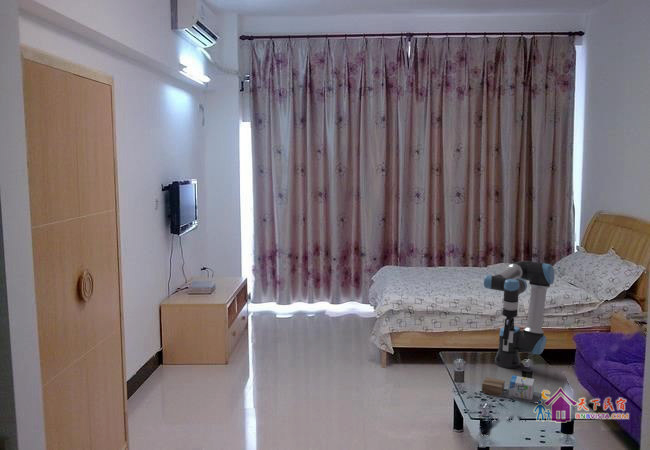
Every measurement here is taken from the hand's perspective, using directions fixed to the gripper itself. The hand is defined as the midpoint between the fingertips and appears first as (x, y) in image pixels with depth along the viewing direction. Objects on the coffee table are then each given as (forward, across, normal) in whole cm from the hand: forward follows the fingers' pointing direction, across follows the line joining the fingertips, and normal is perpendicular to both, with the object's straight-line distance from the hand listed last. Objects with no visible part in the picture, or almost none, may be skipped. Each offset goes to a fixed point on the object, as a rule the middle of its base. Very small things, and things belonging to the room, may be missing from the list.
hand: (507, 346), depth 311 cm
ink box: (+22, 0, +3) cm, 22 cm away
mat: (+26, -1, +9) cm, 28 cm away
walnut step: (+26, +1, -6) cm, 27 cm away
